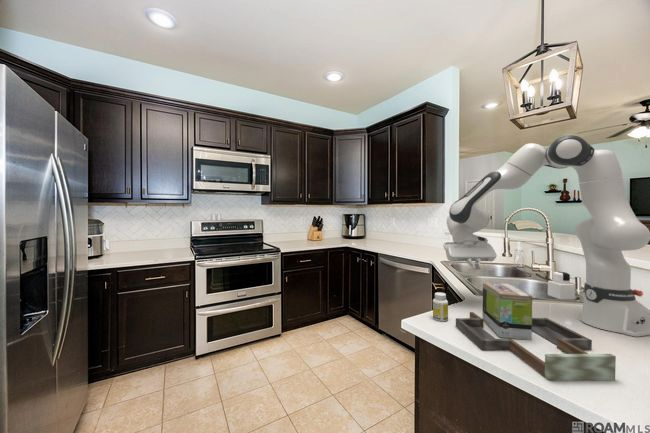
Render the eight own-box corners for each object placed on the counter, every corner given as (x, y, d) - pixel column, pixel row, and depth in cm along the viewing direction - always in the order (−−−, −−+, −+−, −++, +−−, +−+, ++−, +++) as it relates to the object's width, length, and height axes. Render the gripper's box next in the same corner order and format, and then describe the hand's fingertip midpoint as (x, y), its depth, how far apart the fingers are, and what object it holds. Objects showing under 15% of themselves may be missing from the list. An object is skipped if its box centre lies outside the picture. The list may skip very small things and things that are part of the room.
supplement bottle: (446, 316, 105) (446, 292, 104) (449, 322, 99) (449, 296, 99) (432, 315, 106) (432, 291, 106) (433, 320, 101) (433, 295, 101)
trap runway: (533, 319, 101) (533, 303, 101) (648, 380, 65) (649, 356, 65) (448, 319, 102) (448, 304, 101) (515, 380, 65) (515, 356, 65)
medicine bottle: (561, 294, 130) (561, 270, 130) (575, 299, 123) (575, 274, 123) (547, 295, 130) (547, 270, 129) (560, 300, 123) (561, 274, 122)
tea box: (533, 340, 85) (533, 295, 85) (498, 338, 87) (499, 293, 87) (510, 321, 100) (510, 282, 100) (481, 319, 102) (481, 281, 102)
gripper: (444, 238, 118) (454, 264, 108) (490, 238, 118) (504, 264, 108) (440, 246, 122) (449, 272, 113) (484, 246, 122) (497, 272, 113)
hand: (477, 268), depth 111 cm, fingers closed
